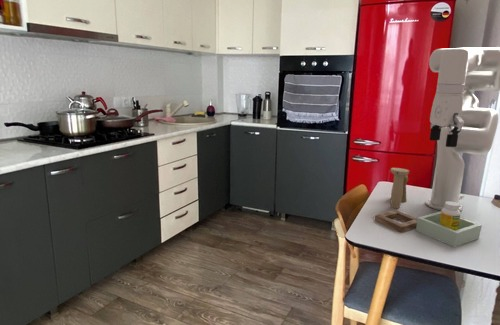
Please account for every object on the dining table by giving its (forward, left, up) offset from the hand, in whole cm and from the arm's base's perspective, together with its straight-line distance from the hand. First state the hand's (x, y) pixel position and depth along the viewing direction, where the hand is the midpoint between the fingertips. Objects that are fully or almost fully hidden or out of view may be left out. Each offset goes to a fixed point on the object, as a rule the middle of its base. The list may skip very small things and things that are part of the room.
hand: (442, 143), depth 115 cm
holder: (+10, -5, -28) cm, 30 cm away
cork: (-10, -21, -28) cm, 37 cm away
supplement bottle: (+3, +8, -27) cm, 29 cm away
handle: (-2, -16, -28) cm, 33 cm away
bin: (+3, +8, -28) cm, 29 cm away
